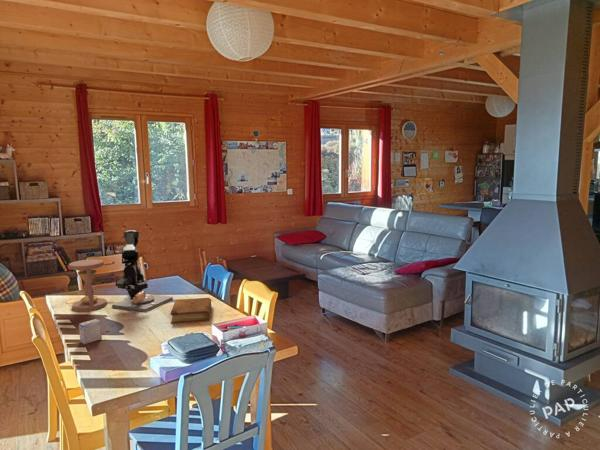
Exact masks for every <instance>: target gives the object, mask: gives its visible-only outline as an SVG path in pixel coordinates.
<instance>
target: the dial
mask: <svg viewBox="0 0 600 450" xmlns="http://www.w3.org/2000/svg"><path fill="white" fill-rule="evenodd" d="M154 295H155V294H152V295H151V294H149V293H146V290H143V291H140V292H139V293H138V294H135V296H134V297H133V300H132V303H137V304H141V303H148V302H151V301H153V300H154Z"/></svg>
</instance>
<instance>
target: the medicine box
mask: <svg viewBox="0 0 600 450" xmlns="http://www.w3.org/2000/svg"><path fill="white" fill-rule="evenodd" d="M78 329H79V330H78V331H79V341H80V343H81V344H83V345H87V344H90V343H93V342H96V341H99V340H102V339H103V337H102V336H103V334H102V324H101V320H99V319H96V318H94V319H92V320H87V321H83V322H80V323H78Z"/></svg>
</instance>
